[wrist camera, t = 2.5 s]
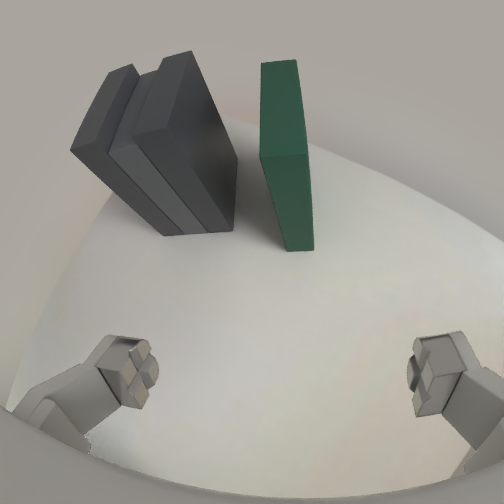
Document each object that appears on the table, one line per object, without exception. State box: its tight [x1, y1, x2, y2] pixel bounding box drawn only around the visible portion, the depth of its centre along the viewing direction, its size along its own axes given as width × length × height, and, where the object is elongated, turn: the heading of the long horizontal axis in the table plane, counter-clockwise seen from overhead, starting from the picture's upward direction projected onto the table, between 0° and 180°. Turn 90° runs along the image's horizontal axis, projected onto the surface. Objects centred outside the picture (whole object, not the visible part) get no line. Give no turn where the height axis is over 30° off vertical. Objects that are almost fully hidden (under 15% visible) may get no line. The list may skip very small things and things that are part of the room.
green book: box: [259, 60, 314, 252], centre depth 22 cm, size 2×9×14 cm, turn 178°
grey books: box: [70, 51, 238, 236], centre depth 25 cm, size 8×9×16 cm
